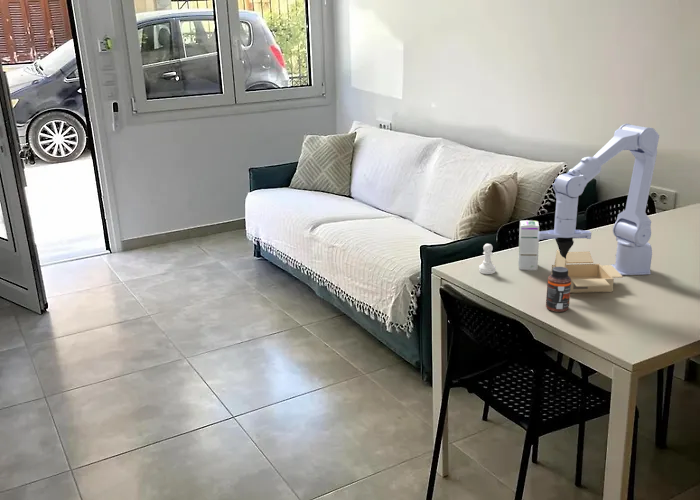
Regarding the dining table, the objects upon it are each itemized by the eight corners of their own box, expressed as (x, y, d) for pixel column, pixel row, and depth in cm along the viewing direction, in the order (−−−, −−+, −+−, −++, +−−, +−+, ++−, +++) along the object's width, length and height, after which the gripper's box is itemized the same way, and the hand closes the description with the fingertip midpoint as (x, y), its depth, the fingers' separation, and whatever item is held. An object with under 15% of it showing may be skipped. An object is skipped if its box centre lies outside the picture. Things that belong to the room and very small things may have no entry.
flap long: (555, 264, 193) (558, 249, 192) (564, 275, 185) (566, 260, 183) (554, 264, 193) (556, 249, 192) (562, 275, 185) (565, 260, 183)
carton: (608, 276, 196) (609, 263, 194) (629, 298, 180) (630, 284, 179) (551, 277, 196) (551, 264, 195) (566, 299, 181) (567, 285, 180)
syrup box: (537, 270, 202) (540, 225, 197) (518, 270, 203) (520, 225, 198) (536, 264, 207) (539, 220, 202) (517, 263, 208) (519, 219, 204)
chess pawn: (480, 274, 200) (481, 246, 198) (477, 268, 205) (478, 241, 202) (496, 274, 200) (498, 246, 197) (493, 268, 205) (494, 241, 202)
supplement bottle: (565, 314, 172) (568, 274, 168) (542, 310, 175) (545, 270, 171) (571, 306, 177) (574, 267, 173) (549, 302, 180) (552, 263, 176)
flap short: (593, 262, 194) (589, 252, 198) (593, 261, 194) (589, 251, 197) (562, 263, 195) (559, 253, 198) (562, 262, 194) (559, 252, 198)
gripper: (587, 212, 187) (583, 257, 192) (536, 213, 188) (533, 258, 192) (595, 219, 181) (590, 265, 185) (542, 220, 181) (539, 266, 186)
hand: (561, 262), depth 188 cm, fingers closed, pressing on flap long
